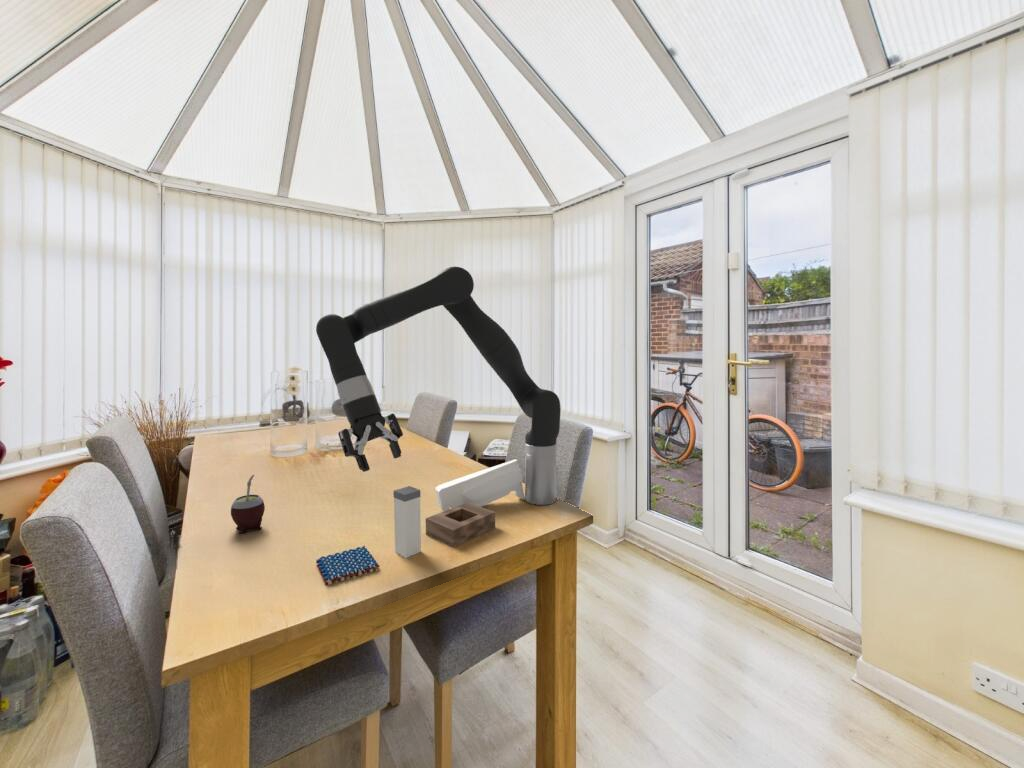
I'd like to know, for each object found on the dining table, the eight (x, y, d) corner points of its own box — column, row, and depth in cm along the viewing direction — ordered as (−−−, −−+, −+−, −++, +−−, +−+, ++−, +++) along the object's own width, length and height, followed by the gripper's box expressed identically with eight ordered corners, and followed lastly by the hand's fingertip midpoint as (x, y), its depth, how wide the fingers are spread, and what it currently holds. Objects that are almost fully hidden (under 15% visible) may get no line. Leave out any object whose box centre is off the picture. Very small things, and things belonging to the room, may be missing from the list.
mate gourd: (244, 523, 107) (241, 466, 106) (274, 523, 107) (272, 466, 106) (223, 536, 100) (220, 474, 99) (256, 536, 100) (253, 475, 98)
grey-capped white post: (410, 545, 96) (409, 486, 94) (421, 551, 93) (420, 490, 92) (394, 552, 92) (393, 490, 91) (405, 558, 90) (404, 494, 89)
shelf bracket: (528, 501, 124) (520, 462, 121) (449, 534, 113) (439, 491, 111) (519, 495, 128) (512, 457, 126) (443, 526, 118) (433, 485, 116)
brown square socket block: (467, 516, 112) (467, 502, 112) (495, 527, 105) (495, 512, 105) (425, 534, 101) (425, 518, 101) (453, 547, 95) (453, 530, 94)
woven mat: (381, 572, 85) (381, 562, 85) (325, 589, 79) (325, 579, 79) (366, 552, 93) (366, 543, 93) (315, 566, 87) (314, 556, 87)
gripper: (337, 402, 89) (363, 473, 89) (392, 387, 100) (415, 450, 100) (322, 410, 94) (347, 478, 94) (376, 395, 105) (399, 456, 104)
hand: (382, 464), depth 97 cm, fingers open, 8 cm apart
